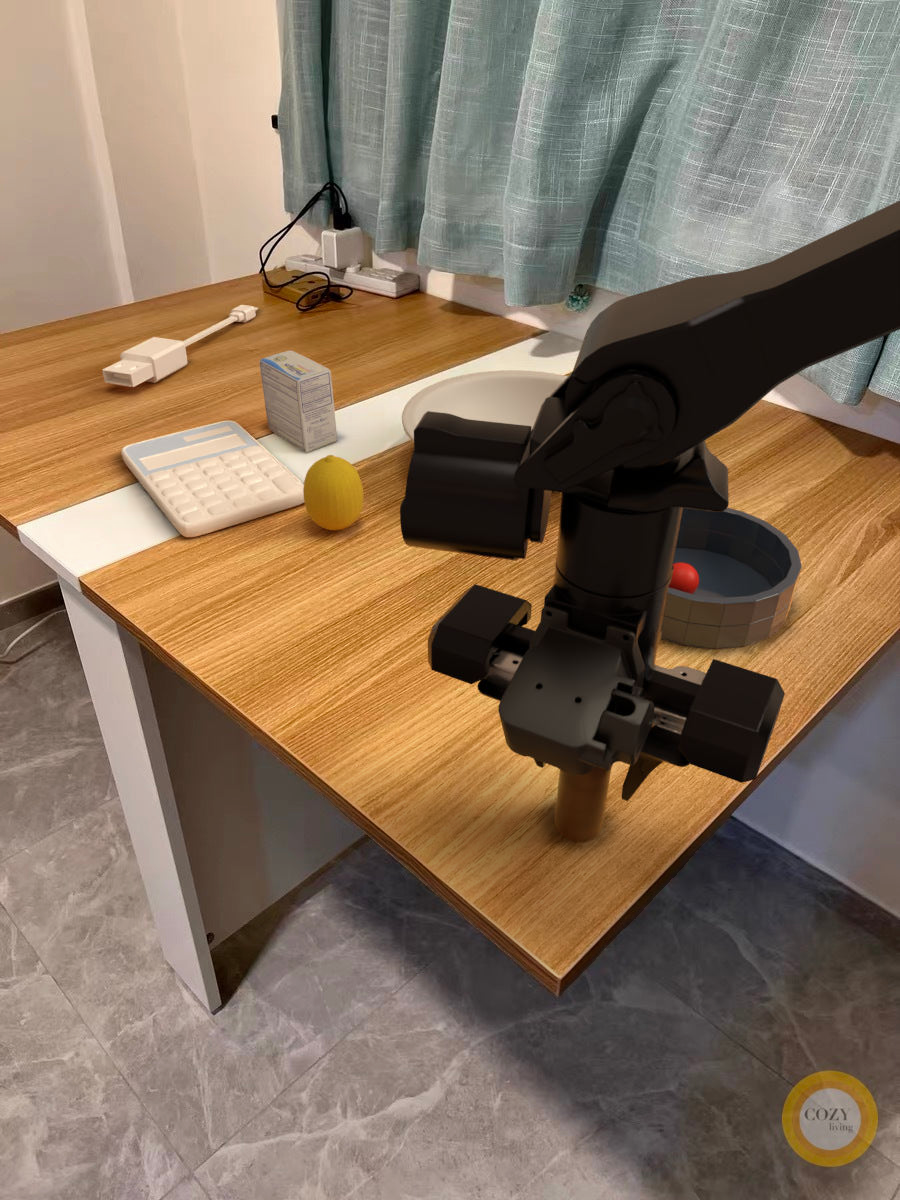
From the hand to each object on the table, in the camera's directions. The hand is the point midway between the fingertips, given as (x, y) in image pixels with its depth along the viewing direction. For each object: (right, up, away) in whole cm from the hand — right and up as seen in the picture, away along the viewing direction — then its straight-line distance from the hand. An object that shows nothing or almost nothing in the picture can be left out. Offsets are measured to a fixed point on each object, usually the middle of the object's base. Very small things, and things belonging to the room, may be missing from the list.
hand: (584, 778), depth 54 cm
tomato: (+11, +13, +21) cm, 27 cm away
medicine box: (-25, +29, +48) cm, 61 cm away
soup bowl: (-1, +24, +41) cm, 48 cm away
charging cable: (-44, +45, +69) cm, 93 cm away
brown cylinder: (0, -4, +3) cm, 4 cm away
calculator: (-33, +23, +39) cm, 56 cm away
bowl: (+13, +11, +23) cm, 28 cm away
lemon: (-19, +17, +31) cm, 40 cm away
